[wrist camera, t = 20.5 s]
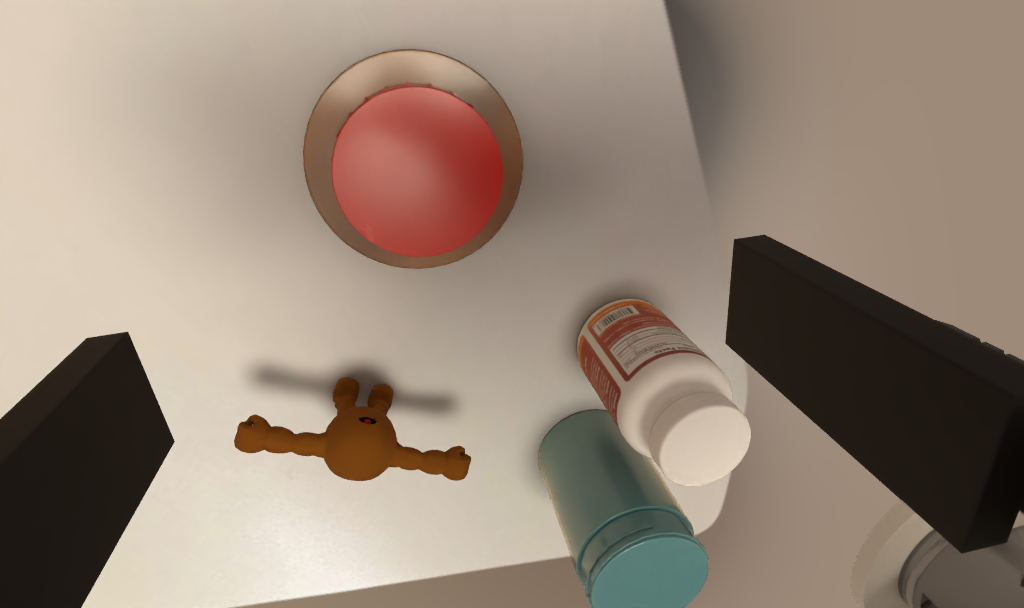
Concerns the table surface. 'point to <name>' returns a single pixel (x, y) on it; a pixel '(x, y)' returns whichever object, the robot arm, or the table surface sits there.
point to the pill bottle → (663, 392)
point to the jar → (619, 518)
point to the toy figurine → (354, 440)
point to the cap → (417, 170)
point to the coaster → (392, 72)
